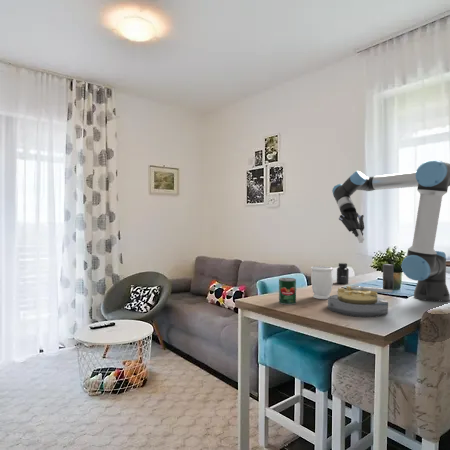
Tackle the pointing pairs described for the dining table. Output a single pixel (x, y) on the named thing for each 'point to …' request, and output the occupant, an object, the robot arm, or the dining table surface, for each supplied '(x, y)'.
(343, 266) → the supplement bottle
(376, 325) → the dining table surface
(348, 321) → the dining table surface
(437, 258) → the robot arm
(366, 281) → the dining table surface
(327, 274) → the jar
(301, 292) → the dining table surface
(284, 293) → the canned tomato
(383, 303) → the grey serving platter
